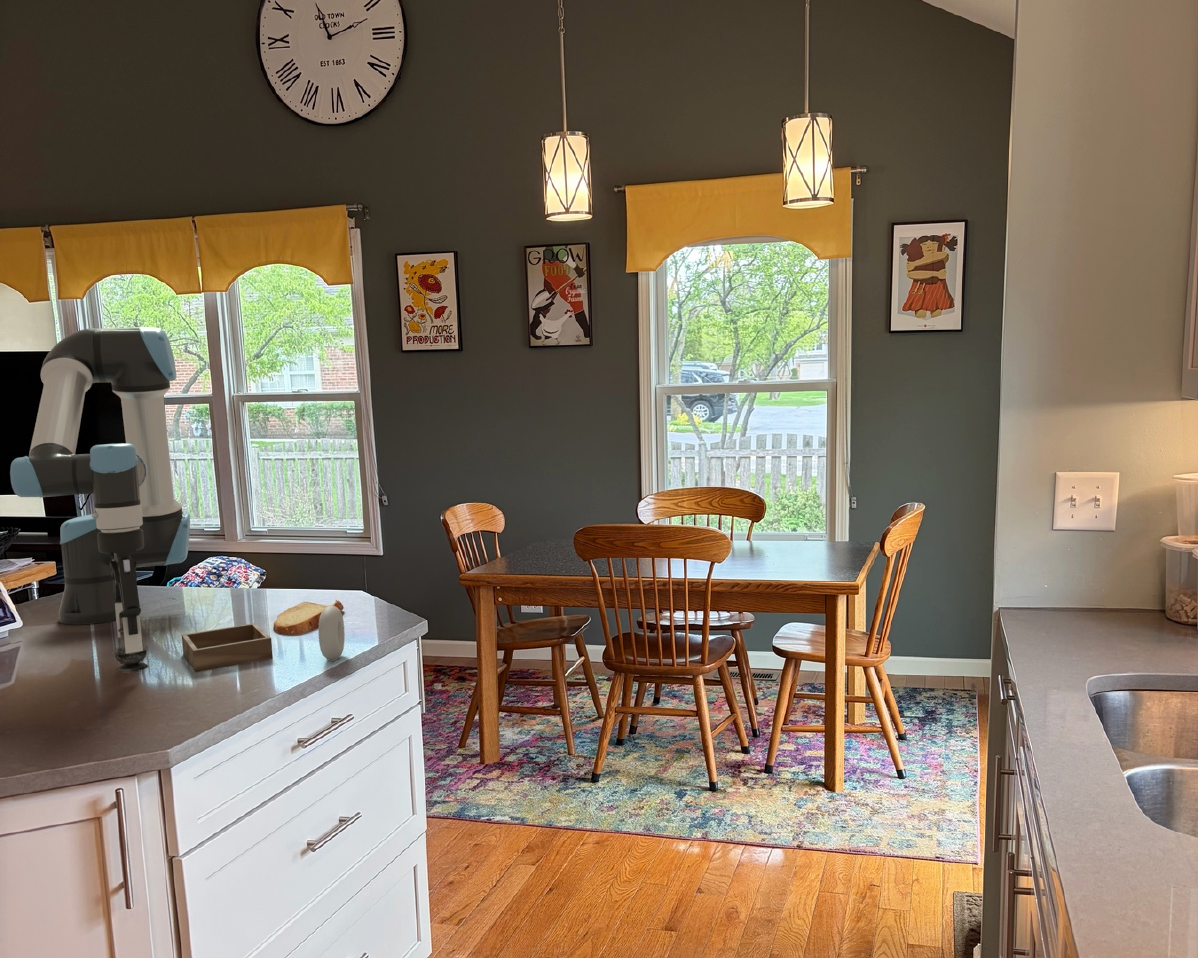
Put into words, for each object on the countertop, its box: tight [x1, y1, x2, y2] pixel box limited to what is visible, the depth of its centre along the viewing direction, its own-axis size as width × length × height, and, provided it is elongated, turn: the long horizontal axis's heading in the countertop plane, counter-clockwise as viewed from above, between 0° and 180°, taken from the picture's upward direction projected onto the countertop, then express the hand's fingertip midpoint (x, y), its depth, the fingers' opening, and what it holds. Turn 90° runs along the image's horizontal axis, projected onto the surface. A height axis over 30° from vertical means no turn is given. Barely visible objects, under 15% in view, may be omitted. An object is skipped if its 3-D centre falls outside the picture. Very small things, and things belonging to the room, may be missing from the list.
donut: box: [318, 605, 346, 661], centre depth 179 cm, size 10×4×10 cm, turn 5°
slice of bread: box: [272, 599, 345, 637], centre depth 208 cm, size 18×18×4 cm
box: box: [181, 622, 274, 673], centre depth 183 cm, size 14×14×4 cm
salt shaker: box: [112, 611, 149, 674], centre depth 177 cm, size 6×6×12 cm
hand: (130, 643), depth 177 cm, fingers open, 13 cm apart
